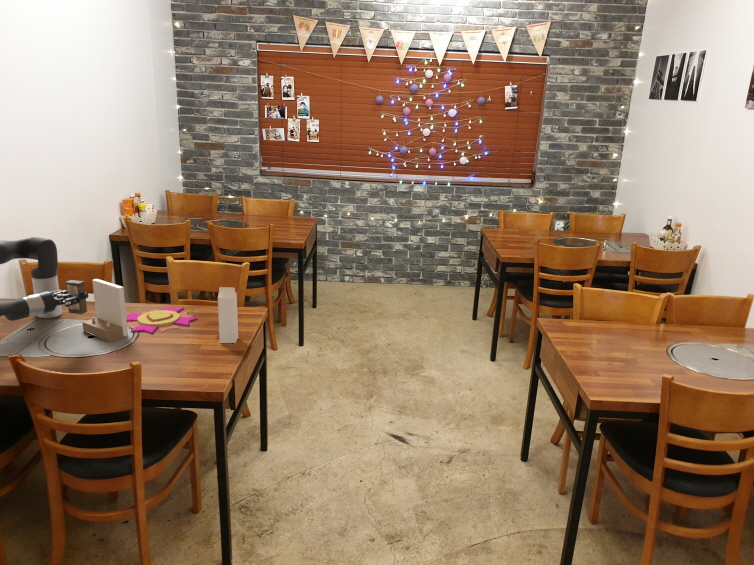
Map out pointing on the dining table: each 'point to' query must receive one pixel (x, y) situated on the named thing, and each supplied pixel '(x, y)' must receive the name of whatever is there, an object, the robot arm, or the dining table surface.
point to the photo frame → (74, 288)
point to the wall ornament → (159, 320)
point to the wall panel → (108, 311)
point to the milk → (227, 315)
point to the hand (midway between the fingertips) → (82, 292)
